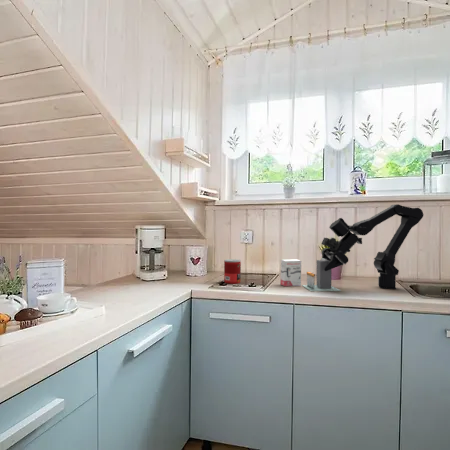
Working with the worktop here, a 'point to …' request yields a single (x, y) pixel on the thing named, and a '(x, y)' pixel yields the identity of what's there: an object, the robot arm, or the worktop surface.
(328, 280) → the gray rectangular block
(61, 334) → the worktop surface
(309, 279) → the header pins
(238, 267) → the canned food
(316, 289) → the mat
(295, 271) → the ink box
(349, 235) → the robot arm
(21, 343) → the worktop surface
